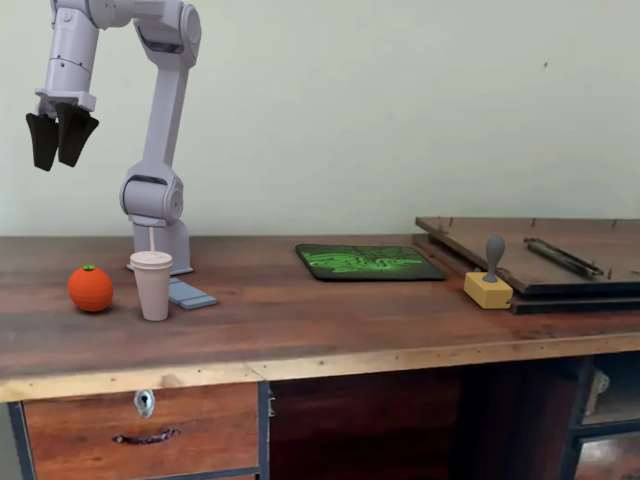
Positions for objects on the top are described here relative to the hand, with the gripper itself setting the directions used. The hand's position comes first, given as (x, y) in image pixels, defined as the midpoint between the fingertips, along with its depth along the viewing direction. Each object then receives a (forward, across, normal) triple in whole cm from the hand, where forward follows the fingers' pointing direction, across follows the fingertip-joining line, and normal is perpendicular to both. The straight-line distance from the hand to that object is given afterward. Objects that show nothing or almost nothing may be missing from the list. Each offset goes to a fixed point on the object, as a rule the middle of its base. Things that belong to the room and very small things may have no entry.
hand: (53, 166), depth 110 cm
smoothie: (+17, +1, +20) cm, 26 cm away
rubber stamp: (-2, +26, +72) cm, 77 cm away
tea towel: (+11, -5, +27) cm, 30 cm away
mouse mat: (-6, 0, +66) cm, 66 cm away
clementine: (+17, -7, +13) cm, 23 cm away
